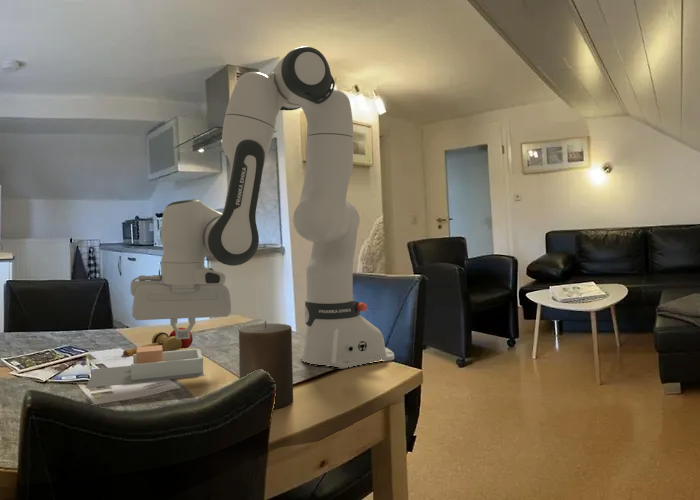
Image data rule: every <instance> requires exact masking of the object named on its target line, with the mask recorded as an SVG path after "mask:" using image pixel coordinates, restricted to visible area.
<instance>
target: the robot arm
mask: <svg viewBox="0 0 700 500" xmlns="http://www.w3.org/2000/svg"><path fill="white" fill-rule="evenodd" d="M335 86H336V82H335V79H334V77H333V75H332V73H331V68H330V66H329V62H328V61H327V58H326V57H325V55H324V54H323V53H322V52H321V51H320V50H318V49H316V48H315V47H313V46H300V47H296V48H294V49H292V50H290V51H289V52H288V53H287V54H285V56H284V57H282V58H281V59H280V60H279V61H278V62H277V64H276V65H275V67H274V68H273V69H272V71H271V72H270V73H269V74H264V73H261V72H257V71H250V72H245V73H243V74H242V75H240V76H239V78H238V79H237V81H236V83H235V85H234V87H233V90H232V92H231V95H230V98H229V100H228V103H227V107H226V111H225V114H224V115H225V116H224V119H223V126H222V134H221V147H222V150H223V152H224V153H225V155H226V157H227V159H228V161H229V165H230V171H229V173H230V174H229V175H230V176H229V180H228V187H227V191H226V196H225V203H224V206H223V210H222V212H220V211H218V210H216V209H213V208H212V207H210V206H208V205H207V204H205V203H204V202H203V201H202V200H200V199H198V198H197V199H196V198H192V199H185V200H184V199H182V200H177V201H173V202H170V203H169V204H167V206H165V207H164V210H163V214H162V219H161V231H160V232H161V237H160V238H161V239H160V241H161V244H162V249H163V252H162V255H161V260H160V261H161V265H160V266H161V267H160V268H161V269H160V270H161V271H160V272H161V273H160V274H158V275H155V274H154V275H153V274H152V275H138V277H135V278H134V279H132V280H131V282H130V294H131V296H133V301H132V310H131V312H132V313H131V317H132V318H133V319H134V321H150V320H151V321H152V320H170V326H171V328H172V329H173V330H175V332H176V339H190V332H191V330H192V329H193V327H195V324H196V319H200V318H201V319H202V318H220V317H221V318H223V317H225V318H227V317H229V315H231V313H232V303H231V302H232V301H231V295H230V290H229V288H228V287H227V285H226V284H225V282H226V275H225V273H224V272H222V271H219V270H217V269H213V268H210V267H206V265H205V258H206V257H214V259H216V261H218V262H219V263H221V264H223V265H227V266H231V267H232V266H233V267H234V266H240V265H243V264H245V263H247V262H249V261H250V260H251V259H252V258H253V257H254V256H255V254H256V253H257V251H258V248H259V244H260V240H259V239H260V236H259V231H258V226H257V222H256V221H257V220H256V219H257V218H256V217H257V216H256V215H257V207H258V200H259V196H260V195H259V194H260V188H261V182H262V176H263V171H264V167H265V163H266V160H267V156H268V154H269V151H270V148H271V144H272V142H273V137H274V134H275V127H276V125H277V124H276V123H277V118H278V116H279V113H280V111H295V110H298V109H300V108H301V109H302V111H303V113H304V115H305V120H306V123H307V124H306V148H305V150H306V152H305V153H306V154H305V159H306V160H305V174H304V179H303V185H302V189H301V195H300V198H299V202H298V205H297V206H296V207H295V210H294V212H293V218H292V221H293V222H292V223H293V226H294V229H295V230H296V232H297V234H298V235H299V236H300V237H302V238H303V239H304V240H307V241H309V242H311V243H312V249H311V253H310V259H309V261H308V263H307V266H306V271H305V272H306V300H305V301H304V302H305V303H304V323H305V325H306V326H305V337H304V345H303V350H302V352H301V353H302V354H301V357H300V360H301V359H302V360H303V361H305V362H308V363H312V364H320V365H330V366H335V367H340V368H339V369H348V367H349V368H354V367H353V366H355V367H358V366H357V365H360V366H363V365H362V364H365V363H370V362H374V361H379V360H381V359H382V360H385V361H384V362H388V361H393V360H394V359H395V353H394V352H393V351H392V350H391V349H389V347H386V346H385V339H384V335H383V333H382V331H381V330H380V329H379V328H378V327H376V326H375V325H374V324H373V323H371V322H370V321H369V320H367V319H366V318H365V317H364V316H362V315H361V312H363V313H364V312H366V311H367V309H368V305H367V304H366V303H365V302H362V301H361V302H358V301H357V300H355V299H354V298H353V297H354V295H353V293H354V289H353V288H354V287H353V285H354V283H353V281H354V280H353V279H354V277H353V276H354V274H353V273H354V272H353V271H354V270H353V269H354V258H355V253H356V245H357V237H358V229H359V227H360V220H361V219H360V214H359V211H358V210H357V209H356V207H355V206H354V205H353V204H352V202H350V201H349V200H347V194H348V189H349V183H350V179H351V176H352V175H353V170H354V167H353V166H354V119H353V111H352V106H351V101H350V99H349V96H348V95H347V94H346V93H344V92H342V90H339V89H335ZM178 319H179V320H180V319H187V322H188V326H187V327H186V329H184V330H179V329H178V328H179V327H178V326H177V325H178ZM302 360H301V361H302ZM303 361H302V362H303ZM305 362H304V363H305Z"/></svg>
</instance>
